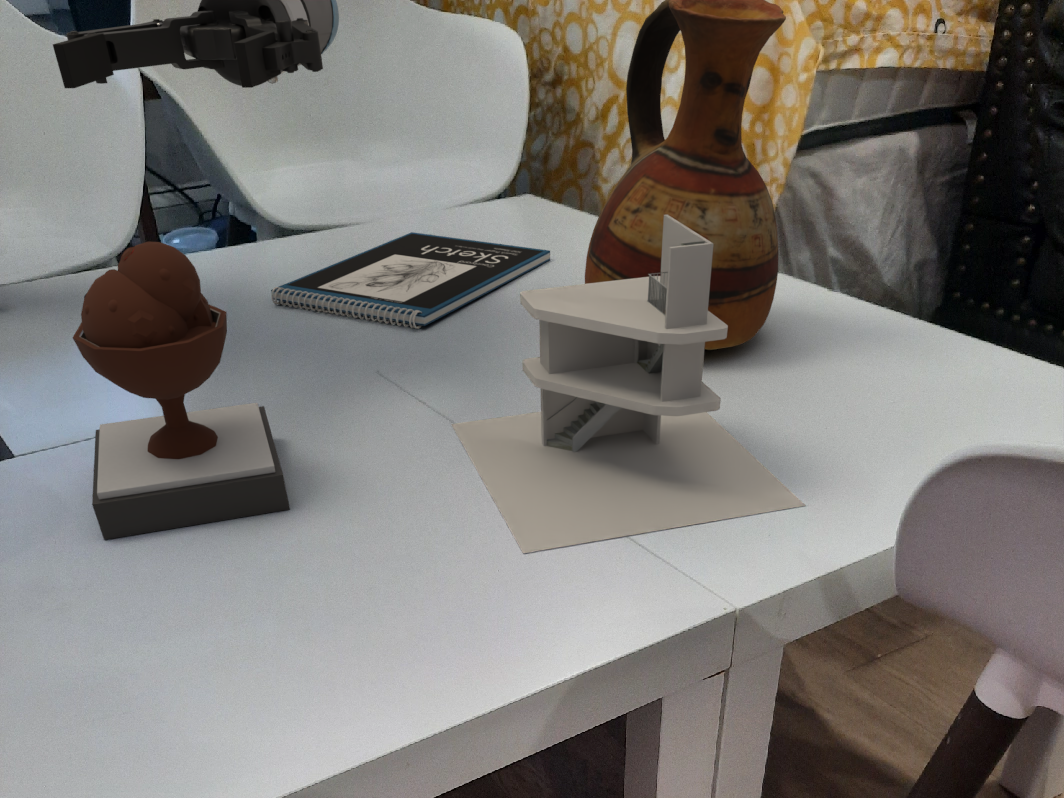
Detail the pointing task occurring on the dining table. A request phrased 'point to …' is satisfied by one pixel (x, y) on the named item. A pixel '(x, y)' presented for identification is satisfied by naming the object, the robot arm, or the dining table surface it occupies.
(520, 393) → the dining table surface
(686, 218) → the ceramic pitcher
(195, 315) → the ice cream bowl
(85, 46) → the robot arm
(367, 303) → the sketchbook
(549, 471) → the architectural model
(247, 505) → the scale
